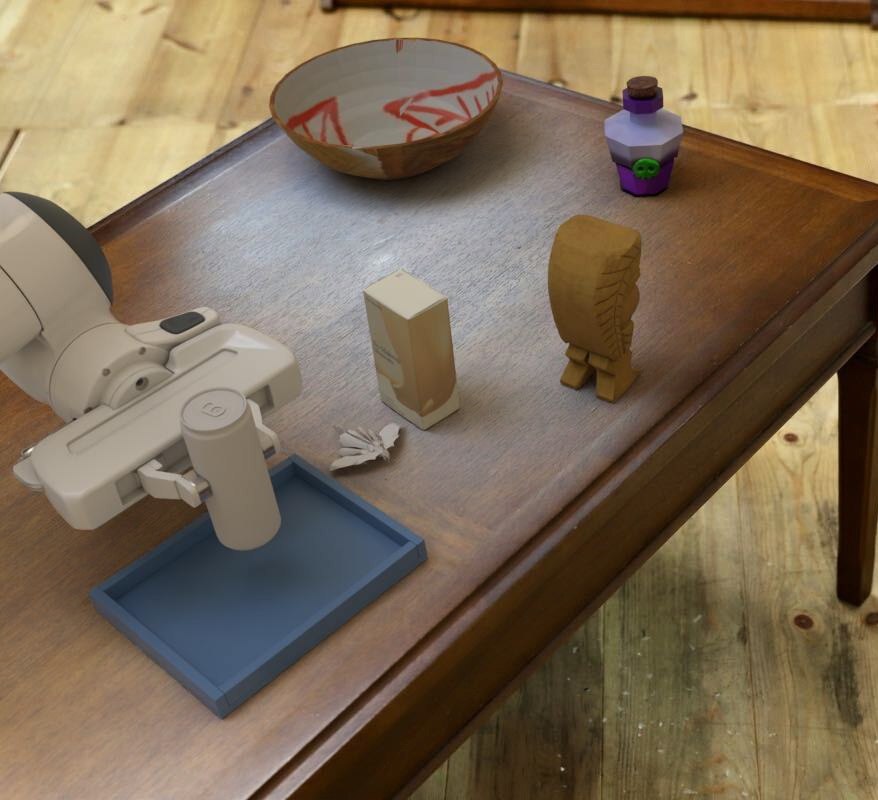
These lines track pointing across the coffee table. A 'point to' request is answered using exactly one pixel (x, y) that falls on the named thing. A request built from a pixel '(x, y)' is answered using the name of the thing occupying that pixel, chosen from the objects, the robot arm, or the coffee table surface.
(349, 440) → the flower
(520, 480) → the coffee table surface
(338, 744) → the coffee table surface
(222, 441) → the beverage can
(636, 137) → the potion bottle
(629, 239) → the figurine
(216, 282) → the coffee table surface
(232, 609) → the tray
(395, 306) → the cosmetic box
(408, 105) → the bowl
